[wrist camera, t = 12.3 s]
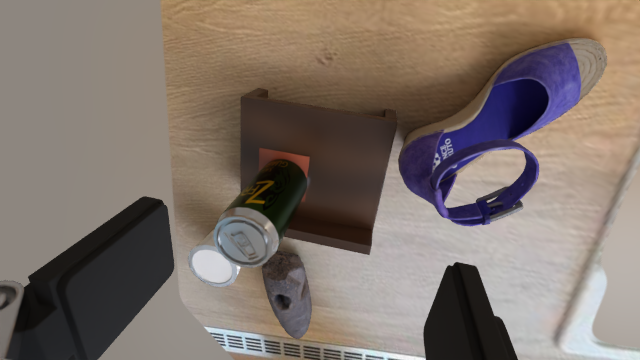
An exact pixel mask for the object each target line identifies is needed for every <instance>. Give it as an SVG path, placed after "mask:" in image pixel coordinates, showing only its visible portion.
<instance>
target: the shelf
mask: <svg viewBox="0 0 640 360" xmlns="http://www.w3.org/2000/svg"><path fill="white" fill-rule="evenodd" d="M396 127H397V113H396V110H391V109H385V114H384V117H380V116H374V115H368V114H362V113H356V112H349V111H343V110H337V109H331V108H325V107H319V106H313V105H306V104H300V103H294V102H288V101H282V100H276V99H270V98H268V90H266V89H260V88H258V89H256V90H254V91H252V92H250V93H248V94H246V95H244V96H242V97H241V192H242V191H243V190H244V188H245V187H246V186H247V185H248V184H249V183H250V182H251V181H252V179H253V178H254V177H255V176H256V175H257V174H258V173H259V171H260V170H261V169H262V168H263V167H264V166H265V165H266V164H267V163H269V162H270V161H272V160H276V159H287V160H290V161H293V162H295V163H296V164H298V165H299V166H300V167H301V168H302V170H303V171H304V173H305V176H306V178H307V189H306V193H305V195H304V197H303V199H302V201H301V203H300V205H299V207H298V209H297V211H296V213H295V215H294V217H293V219H292V221H291V223H290V225H289V227H288V229H287V231H286V233H285V235H284V237H288V238H293V239H297V240H302V241H307V242H311V243H316V244H321V245H325V246H330V247H335V248H339V249H344V250H349V251H353V252H358V253H362V254H367V255H370V250H371V245H372V233H373V227H374V223H375V218H376V214H377V210H378V205H379V201H380V196H381V192H382V188H383V183H384V179H385V175H386V170H387V166H388V162H389V157H390V153H391V148H392V144H393V140H394V135H395V131H396Z"/></svg>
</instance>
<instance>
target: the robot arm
mask: <svg viewBox="0 0 640 360" xmlns="http://www.w3.org/2000/svg"><path fill="white" fill-rule="evenodd" d="M173 270H174V259H173V250H172V242H171V234H170V225H169V216H168V209H167V206H166V205H164V203H163V201H162V200H160V199H155V198H151V197H142V198H140V199H139V200H137V201H136V202H134V203H133V204H132V205H130V206H128V207H127V208H126V209H124V210H123V211H121V212H120V213H118V214H117V215H116V216H114V217H113V218H111V219H110V220H108V221H107V222H106V223H104V224H103V225H101V226H100V227H98V228H97V229H96V230H94V231H93V232H92V233H90V234H88V235H87V236H86V237H84V238H83V239H81V240H80V241H78V242H77V243H76V244H74V245H73V246H71V247H70V248H68V249H67V250H66V251H64V252H63V253H61V254H60V255H58V256H57V257H56V258H54V259H53V260H51V261H50V262H49V263H47V264H46V265H44V266H43V267H41V268H40V269H38V270H37V271H36V272H34V273H33V274H31V275H30V276H29V277H28V278H29V281H30V283H29V284H28V285H27V286H25V287H23V286H22V285H21V284H20V283H18V282H15V281H6V280H4V281H0V360H97V359H98V358H99V357H100V356H101V355H102V354H103V353H104V352H105V351H106V350H107V348H108V347H109V346H110V345H111V344H112V343H113V341H114V340H115V339H116V338H117V337H118V336H119V335H120V333H121V332H122V331H123V330H124V329H125V328H126V326H127V325H128V324H129V323H130V322H131V321H132V320H133V318H134V317H135V316H136V315H137V314H138V313H139V312H140V310H141V309H142V308H143V307H144V306H145V305H146V303H147V302H148V301H149V300H150V299H151V298H152V297H153V295H154V294H155V293H156V292H157V291H158V290H159V288H160V287H161V286H162V285H163V284H164V283H165V282H166V280H167V279H168V278H169V277H170V276H171V274H172V272H173ZM424 346H425V355H426V360H518V359H517V356H516V353H515V351H514V348H513V345H512V343H511V340H510V338H509V335H508V332H507V330H506V327H505V325H504V323H503V321H502V319H501V318H500V317H497V316H494V314H493V311H492V308H491V305H490V302H489V300H488V297H487V294H486V291H485V288H484V286H483V283H482V280H481V277H480V274H479V272H478V269H477V267H476V266H473V265H468V264H463V263H459V262H455V263H454V265H453V266H450V265H449V266H447V268H446V270H445V273H444V275H443V278H442V281H441V283H440V286H439V289H438V291H437V294H436V296H435V299H434V302H433V304H432V307H431V310H430V312H429V315H428V318H427V320H426V323H425V326H424Z"/></svg>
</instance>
